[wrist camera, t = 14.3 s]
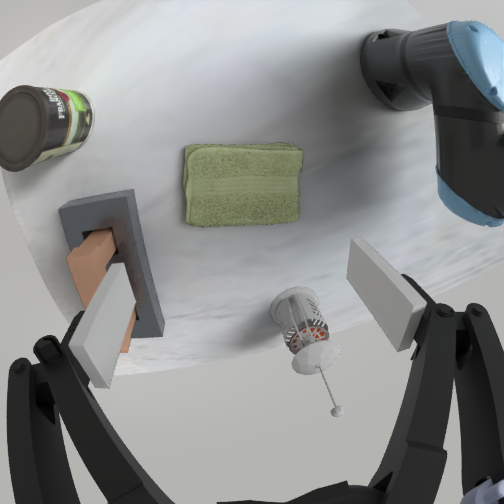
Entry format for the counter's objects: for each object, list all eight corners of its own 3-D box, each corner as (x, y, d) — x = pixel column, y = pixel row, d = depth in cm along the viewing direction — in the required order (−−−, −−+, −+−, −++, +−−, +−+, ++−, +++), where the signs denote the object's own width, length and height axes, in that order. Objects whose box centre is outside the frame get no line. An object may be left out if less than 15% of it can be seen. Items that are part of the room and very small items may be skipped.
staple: (96, 223, 41) (65, 257, 30) (117, 220, 41) (90, 254, 31) (121, 307, 48) (105, 352, 38) (140, 306, 49) (127, 352, 38)
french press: (280, 333, 56) (314, 439, 34) (258, 293, 51) (290, 412, 29) (324, 313, 56) (375, 412, 33) (307, 270, 50) (368, 378, 28)
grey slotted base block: (69, 201, 38) (58, 208, 35) (133, 189, 39) (126, 196, 36) (109, 325, 50) (104, 338, 46) (164, 322, 51) (162, 336, 48)
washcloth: (182, 143, 38) (180, 145, 35) (300, 142, 40) (307, 144, 37) (187, 226, 44) (185, 233, 41) (295, 222, 46) (301, 229, 43)
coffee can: (71, 77, 29) (20, 68, 17) (107, 118, 34) (62, 121, 21) (33, 126, 31) (-21, 136, 19) (66, 166, 36) (16, 189, 23)
